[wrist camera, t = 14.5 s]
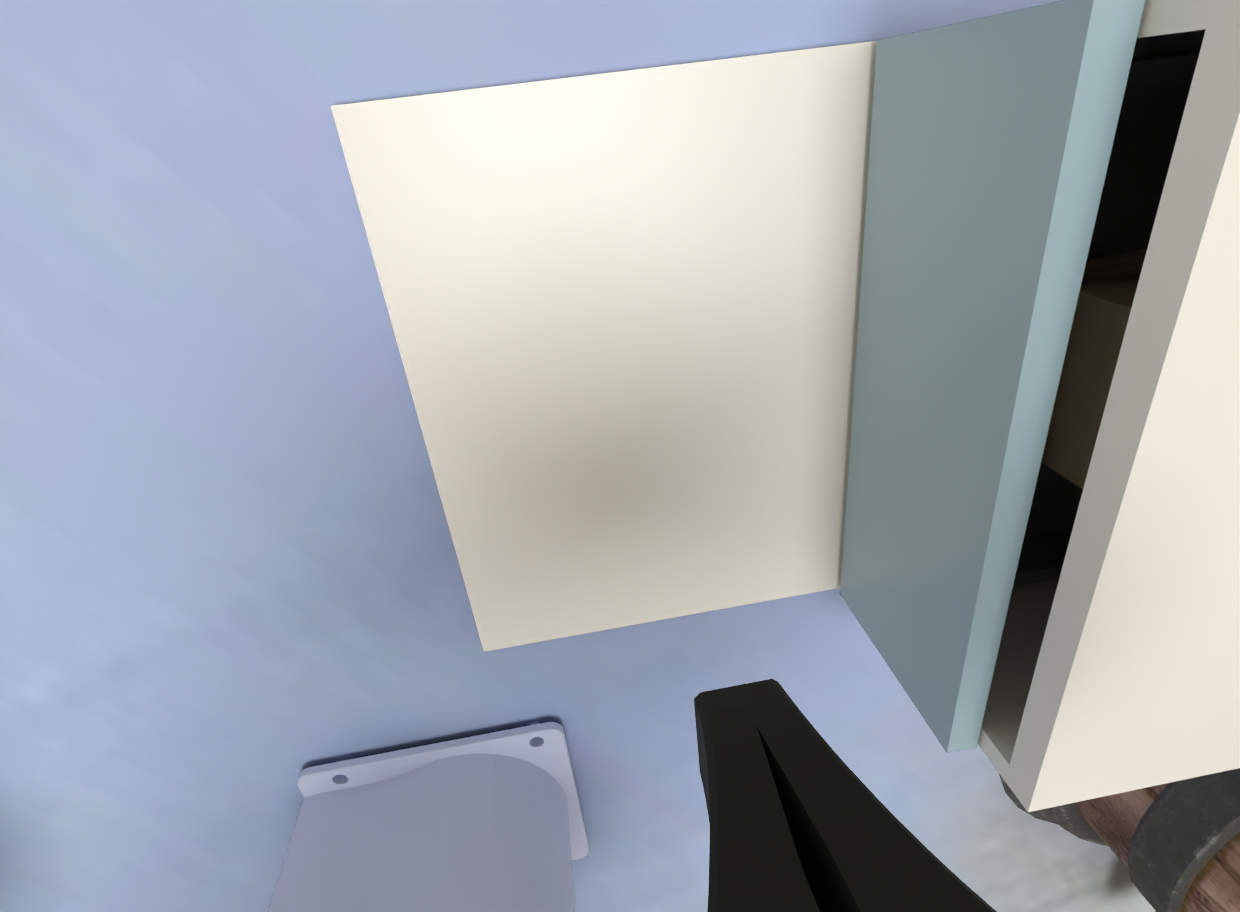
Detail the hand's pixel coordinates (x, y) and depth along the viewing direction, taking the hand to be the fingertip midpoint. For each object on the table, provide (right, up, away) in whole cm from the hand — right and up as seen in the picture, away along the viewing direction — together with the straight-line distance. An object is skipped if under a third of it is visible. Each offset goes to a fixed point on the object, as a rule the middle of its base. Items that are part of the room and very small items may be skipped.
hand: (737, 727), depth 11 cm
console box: (+5, +7, +8) cm, 12 cm away
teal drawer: (+11, +8, +8) cm, 16 cm away
